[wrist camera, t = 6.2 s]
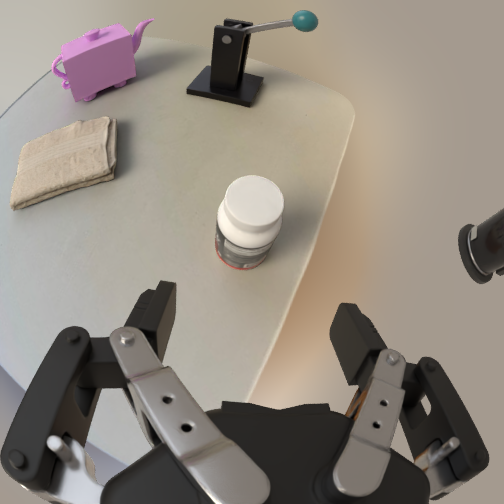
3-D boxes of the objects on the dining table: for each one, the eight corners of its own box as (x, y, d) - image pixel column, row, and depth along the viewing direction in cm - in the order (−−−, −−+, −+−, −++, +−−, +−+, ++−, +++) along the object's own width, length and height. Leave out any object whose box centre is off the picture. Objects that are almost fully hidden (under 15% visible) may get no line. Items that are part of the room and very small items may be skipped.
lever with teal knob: (321, 27, 27) (315, 7, 24) (319, 33, 26) (313, 11, 23) (232, 41, 33) (224, 23, 30) (225, 48, 32) (216, 30, 29)
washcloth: (120, 180, 31) (115, 165, 28) (13, 216, 26) (2, 206, 23) (119, 122, 34) (116, 107, 32) (25, 156, 30) (18, 144, 27)
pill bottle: (223, 217, 31) (231, 161, 22) (271, 231, 31) (296, 181, 22) (208, 263, 29) (208, 218, 19) (259, 278, 29) (284, 240, 20)
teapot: (65, 115, 34) (45, 60, 22) (61, 92, 36) (46, 44, 25) (165, 73, 40) (163, 17, 29) (149, 56, 43) (146, 7, 31)
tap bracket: (262, 82, 42) (276, 24, 31) (249, 107, 39) (263, 40, 27) (206, 70, 42) (211, 13, 30) (186, 93, 38) (187, 28, 27)
